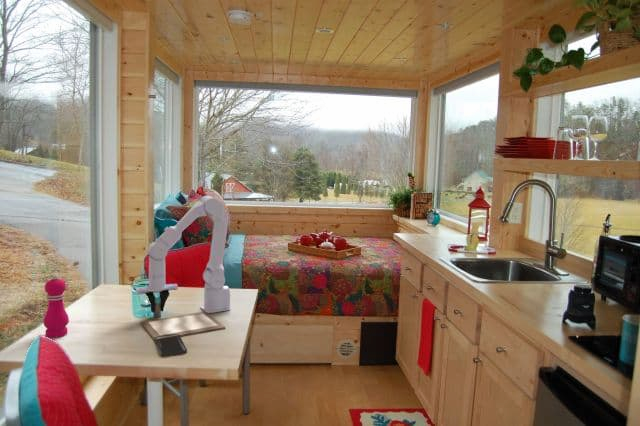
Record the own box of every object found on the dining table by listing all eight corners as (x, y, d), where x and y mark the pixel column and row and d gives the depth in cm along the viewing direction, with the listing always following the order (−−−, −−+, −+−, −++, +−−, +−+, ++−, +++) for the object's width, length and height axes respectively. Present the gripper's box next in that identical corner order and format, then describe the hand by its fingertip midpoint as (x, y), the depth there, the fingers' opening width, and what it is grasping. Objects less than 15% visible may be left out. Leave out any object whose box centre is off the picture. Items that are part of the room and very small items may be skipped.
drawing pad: (206, 313, 185) (206, 311, 185) (225, 328, 170) (225, 326, 170) (140, 323, 171) (140, 321, 171) (155, 341, 156) (155, 338, 156)
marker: (159, 314, 181) (159, 296, 180) (161, 316, 179) (161, 298, 178) (152, 315, 180) (152, 297, 179) (154, 317, 177) (154, 299, 177)
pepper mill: (73, 333, 160) (72, 274, 157) (52, 340, 154) (50, 278, 151) (60, 328, 163) (59, 270, 161) (39, 335, 157) (37, 274, 155)
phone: (178, 333, 162) (187, 351, 148) (178, 337, 162) (187, 354, 148) (153, 336, 158) (160, 354, 145) (153, 340, 158) (160, 358, 145)
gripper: (173, 270, 185) (173, 305, 186) (133, 274, 177) (133, 310, 178) (179, 274, 179) (179, 310, 181) (138, 279, 171) (138, 316, 172)
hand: (157, 311), depth 179 cm, fingers closed on marker, 3 cm apart
